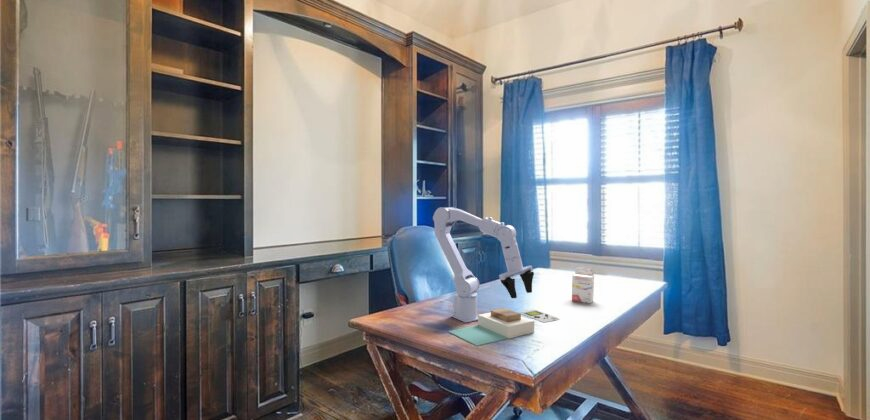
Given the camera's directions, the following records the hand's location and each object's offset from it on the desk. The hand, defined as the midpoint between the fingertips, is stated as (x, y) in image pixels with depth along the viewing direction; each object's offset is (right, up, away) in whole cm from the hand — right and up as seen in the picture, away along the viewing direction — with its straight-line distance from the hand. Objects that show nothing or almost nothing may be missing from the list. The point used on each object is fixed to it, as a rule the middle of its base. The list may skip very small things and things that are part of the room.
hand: (521, 295), depth 148 cm
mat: (-17, -12, -9) cm, 22 cm away
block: (-6, -8, -2) cm, 10 cm away
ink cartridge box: (+35, -11, +37) cm, 52 cm away
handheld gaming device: (+10, -12, +14) cm, 21 cm away
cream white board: (-6, -12, -2) cm, 13 cm away
